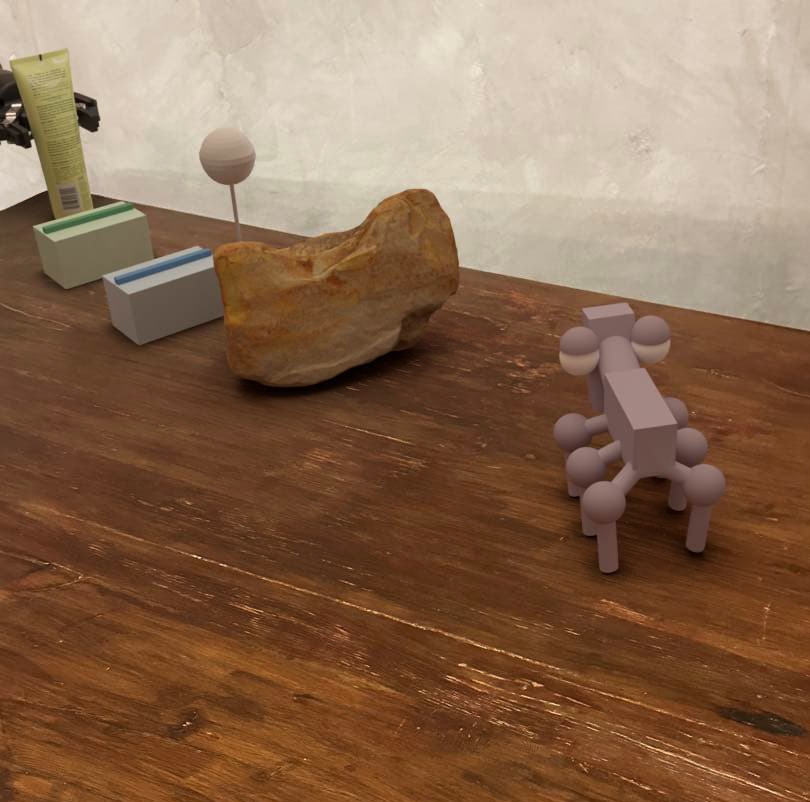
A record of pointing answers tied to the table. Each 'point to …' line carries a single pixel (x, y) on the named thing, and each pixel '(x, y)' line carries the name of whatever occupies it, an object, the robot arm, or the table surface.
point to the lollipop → (228, 161)
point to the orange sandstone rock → (337, 293)
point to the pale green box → (93, 243)
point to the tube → (55, 128)
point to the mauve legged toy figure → (630, 428)
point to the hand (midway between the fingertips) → (61, 131)
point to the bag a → (164, 295)
